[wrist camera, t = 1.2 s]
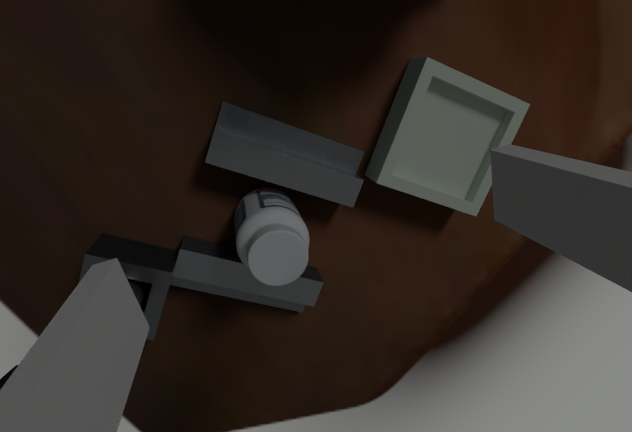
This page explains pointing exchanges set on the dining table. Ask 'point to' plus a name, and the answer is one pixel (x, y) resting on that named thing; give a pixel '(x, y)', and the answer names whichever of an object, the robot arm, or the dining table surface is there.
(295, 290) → the socket
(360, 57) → the dining table surface
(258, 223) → the pill bottle
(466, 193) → the tray
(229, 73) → the dining table surface
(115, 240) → the block
